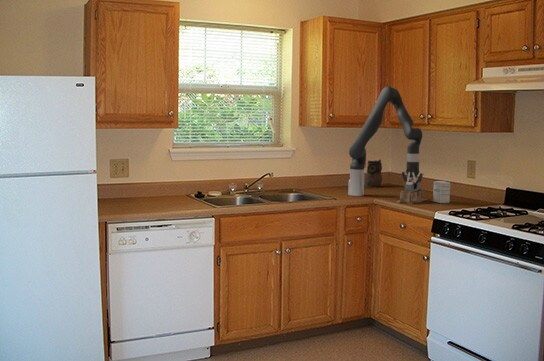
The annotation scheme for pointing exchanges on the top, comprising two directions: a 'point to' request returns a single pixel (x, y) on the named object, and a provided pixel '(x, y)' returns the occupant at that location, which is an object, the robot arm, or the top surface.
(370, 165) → the owl
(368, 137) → the robot arm
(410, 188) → the frame bar
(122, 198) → the top surface
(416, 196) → the display stand
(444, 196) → the supplement box
